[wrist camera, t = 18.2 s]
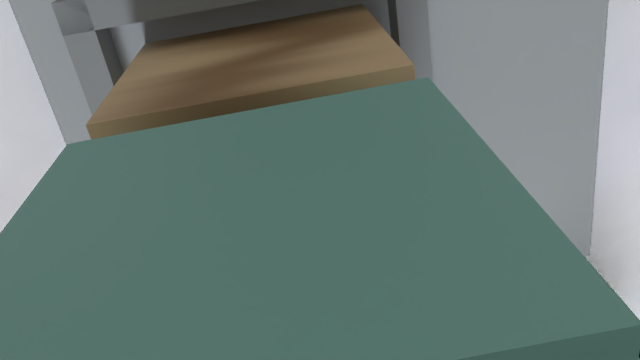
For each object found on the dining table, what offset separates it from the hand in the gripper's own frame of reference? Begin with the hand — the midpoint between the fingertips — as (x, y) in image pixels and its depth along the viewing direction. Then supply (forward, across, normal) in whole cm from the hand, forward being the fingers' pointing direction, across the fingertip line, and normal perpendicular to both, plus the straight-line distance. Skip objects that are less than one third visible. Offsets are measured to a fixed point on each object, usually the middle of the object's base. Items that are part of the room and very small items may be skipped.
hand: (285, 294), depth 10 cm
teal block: (+1, 0, 0) cm, 1 cm away
